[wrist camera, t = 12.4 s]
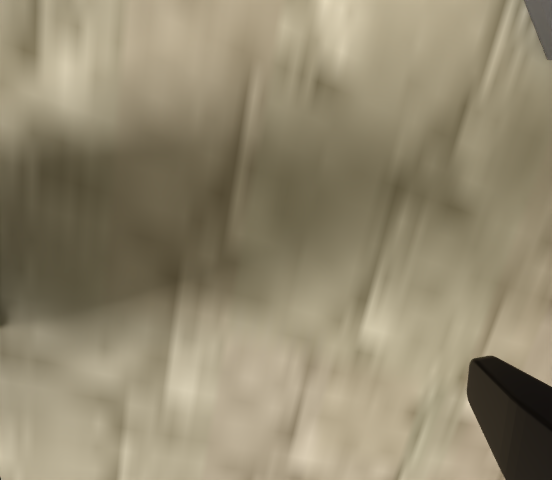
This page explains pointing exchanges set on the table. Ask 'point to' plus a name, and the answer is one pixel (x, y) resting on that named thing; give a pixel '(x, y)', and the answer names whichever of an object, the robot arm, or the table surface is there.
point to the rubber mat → (542, 22)
